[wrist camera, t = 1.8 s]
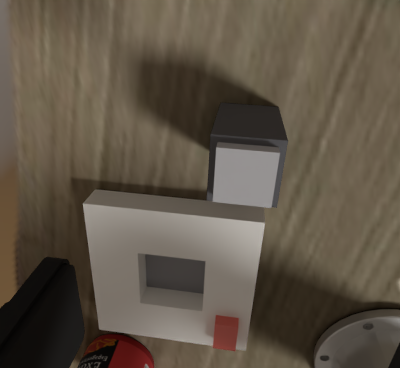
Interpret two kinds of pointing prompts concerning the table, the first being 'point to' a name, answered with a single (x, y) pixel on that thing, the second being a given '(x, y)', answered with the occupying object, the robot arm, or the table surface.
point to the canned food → (116, 353)
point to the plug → (246, 155)
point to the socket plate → (174, 266)
